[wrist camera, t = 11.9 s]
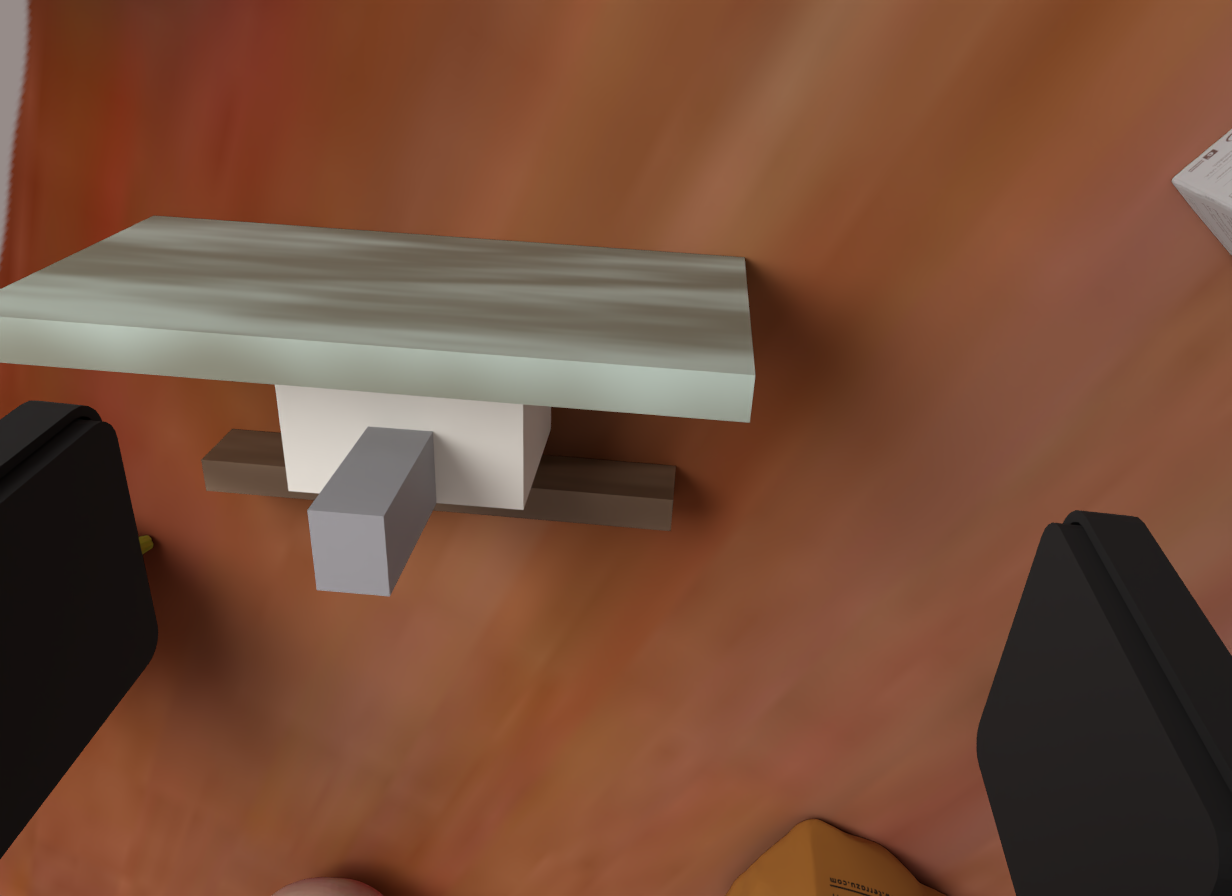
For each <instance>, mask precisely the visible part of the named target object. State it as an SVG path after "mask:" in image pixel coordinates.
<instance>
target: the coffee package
mask: <svg viewBox="0 0 1232 896" xmlns="http://www.w3.org/2000/svg"><path fill="white" fill-rule="evenodd" d="M725 896H947V895H945V894H942V893H940V892H938V891H936V890H935V889H933V888H930V887H928V886H925V885H923V884H921V883H919V882H918V881H917V880H916V878H915V877H914V876H913V875H912V874H911V873H910V872H909V871H908V870H907V869H906V867H905V866H904V865H903V864H902V863H901V862H900V861H899V860H898V859H897V858H896V857H895V856H893V855H892V854H891V853H890V852H889V851H888V850H887V849H885V848H884V847H883V846H881V845H880V844H878V843H876V842H873V841H870V840H867V839H864V838H861V837H857V836H854V835H850V834H847V833H844V832H842V831H840V830H839V829H837V828H835V827H833V826H831V825H829V824H827V823H825V822H823V821H821V820H818V819H809V820H805V821H803V822H801V823H798V824H797V825H796V826H795V827H794V828H793V829H792V830H791V831H790V832H789V833H788V834H787V835H785V836H784V837H783V838H782V839H780V840H779V841H778V842H777V843H775V844H774V845H773V846H772V847H771V848H769V849H768V850H767V851H766V852H765V853H763V854H762V855H761V856H760V857H759V858H758V859H757V860H756V861H755V862H754V863H753V864H752V865H751V866H750V867H749V868H748V870H746V871H745V872H744V873H742V874H741V875H740V876H739V877H738V878H737V879H736V880H735V881H734V882H733V884H732V886H731V888H730V890H729V891H728V892H727V894H726V895H725Z"/></svg>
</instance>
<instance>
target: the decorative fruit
mask: <svg viewBox="0 0 1232 896" xmlns="http://www.w3.org/2000/svg"><path fill="white" fill-rule="evenodd" d="M272 896H383V895H382V894H381V893H380V892H379V891H377V890H376V889H374V888H373V887H371V886H369V885H367V884H365V883H363V882H360V881H357V880H353V879H346V878H332V877H317V878H309V879H304V880H300V881H297V882H294V883H292V884H289V885H287V886H285V887H283V888H282V889H280V890H279V891H277V892H276V893H274V894H273V895H272Z"/></svg>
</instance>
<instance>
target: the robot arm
mask: <svg viewBox="0 0 1232 896" xmlns="http://www.w3.org/2000/svg"><path fill="white" fill-rule="evenodd" d="M157 640H158V626H157V621H156V616H155V611H154V607H153V602H152V597H151V593H150V588H149V583H148V579H147V574H146V569H145V565H144V560H143V555H142V551H141V546H140V541H139V537H138V532H137V527H136V523H135V518H134V513H133V509H132V504H131V499H130V495H129V490H128V485H127V481H126V476H125V471H124V466H123V462H122V457H121V452H120V448H119V443H118V438H117V435H116V432H115V430H114V429H113V427H112V426H111V425H110V424H108V423H107V422H102V420H101V417H100V416H99V414H98V413H97V412H96V410H94V409H92V408H91V407H89V406H83V405H73V404H64V403H54V402H45V401H28V402H26V403H24V404H22V405H20V406H19V407H17V408H16V409H15V410H13V411H12V412H10V413H9V414H8V415H6V416H5V417H3V418H2V419H1V420H0V859H1V858H2V856H3V855H4V854H5V852H6V851H7V850H8V848H9V847H10V846H11V844H12V843H13V842H14V840H15V839H16V838H17V836H18V835H19V834H20V832H21V831H22V830H23V829H24V827H25V826H26V825H27V823H28V822H29V821H30V819H31V818H32V817H33V815H34V814H35V813H36V811H37V810H38V809H39V807H40V806H41V805H42V803H43V802H44V801H45V800H46V798H47V797H48V796H49V794H50V793H51V792H52V790H53V789H54V788H55V786H56V785H57V784H58V782H59V781H60V780H61V778H62V777H63V776H64V774H65V773H66V772H67V771H68V769H69V768H70V767H71V765H72V764H73V763H74V761H75V760H76V759H77V757H78V756H79V755H80V753H81V752H82V751H83V749H84V748H85V747H86V745H87V744H88V743H89V742H90V740H91V739H92V738H93V736H94V735H95V734H96V732H97V731H98V730H99V728H100V727H101V726H102V724H103V723H104V722H105V720H106V719H107V718H108V716H109V715H110V714H111V712H112V711H113V710H114V709H115V707H116V706H117V705H118V703H119V702H120V701H121V699H122V698H123V697H124V695H125V694H126V693H127V691H128V690H129V689H130V687H131V686H132V685H133V683H134V682H135V681H136V680H137V678H138V677H139V676H140V674H141V673H142V672H143V670H144V669H145V668H146V666H147V665H148V664H149V662H150V660H151V659H152V657H153V654H154V652H155V649H156V645H157ZM977 758H978V762H979V767H980V770H981V774H982V777H983V781H984V784H985V788H986V791H987V795H988V798H989V802H990V805H991V809H992V812H993V816H994V819H995V823H996V826H997V830H998V833H999V837H1000V840H1001V844H1002V847H1003V851H1004V854H1005V858H1006V861H1007V865H1008V868H1009V872H1010V875H1011V879H1012V882H1013V886H1014V889H1015V893H1016V896H1232V656H1231V654H1230V653H1229V651H1228V650H1227V648H1226V647H1225V645H1224V644H1223V642H1222V641H1221V639H1220V638H1219V636H1218V635H1217V633H1216V632H1215V630H1214V629H1213V627H1212V625H1211V624H1210V622H1209V621H1208V619H1207V618H1206V616H1205V615H1204V613H1203V612H1202V610H1201V609H1200V607H1199V606H1198V604H1197V603H1196V601H1195V600H1194V598H1193V597H1192V595H1191V594H1190V592H1189V591H1188V589H1187V587H1186V586H1185V584H1184V583H1183V581H1182V580H1181V578H1180V577H1179V575H1178V574H1177V572H1176V571H1175V569H1174V568H1173V566H1172V565H1171V563H1170V562H1169V560H1168V559H1167V557H1166V556H1165V554H1164V553H1163V551H1162V550H1161V548H1160V546H1159V545H1158V543H1157V542H1156V540H1155V539H1154V537H1153V536H1152V534H1151V533H1150V531H1149V530H1148V528H1147V527H1146V525H1145V524H1144V523H1143V522H1142V521H1141V520H1140V519H1139V518H1138V517H1134V516H1126V515H1116V514H1107V513H1097V512H1088V511H1079V510H1075V511H1073V512H1071V513H1070V514H1069V515H1068V516H1067V517H1066V519H1065V520H1064V522H1063V524H1061V523H1051V524H1049V525H1048V526H1047V527H1046V528H1045V530H1044V532H1043V535H1042V537H1041V540H1040V543H1039V546H1038V549H1037V552H1036V555H1035V558H1034V561H1033V564H1032V567H1031V570H1030V573H1029V576H1028V579H1027V582H1026V585H1025V588H1024V591H1023V594H1022V597H1021V600H1020V603H1019V606H1018V609H1017V612H1016V615H1015V618H1014V621H1013V624H1012V627H1011V630H1010V633H1009V636H1008V639H1007V642H1006V645H1005V648H1004V651H1003V654H1002V657H1001V660H1000V663H999V666H998V669H997V672H996V675H995V678H994V681H993V684H992V687H991V690H990V693H989V696H988V699H987V702H986V705H985V708H984V711H983V714H982V717H981V720H980V723H979V727H978V732H977Z"/></svg>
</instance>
